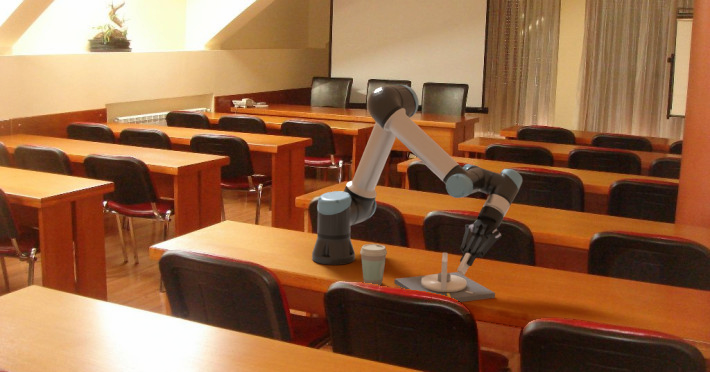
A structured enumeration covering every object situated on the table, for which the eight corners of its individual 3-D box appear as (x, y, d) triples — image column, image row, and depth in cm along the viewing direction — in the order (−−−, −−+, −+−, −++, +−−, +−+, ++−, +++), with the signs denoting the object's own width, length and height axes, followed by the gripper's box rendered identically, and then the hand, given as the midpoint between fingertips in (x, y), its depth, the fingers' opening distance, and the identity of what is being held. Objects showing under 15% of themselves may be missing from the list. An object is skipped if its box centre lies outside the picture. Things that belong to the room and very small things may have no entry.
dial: (422, 277, 255) (423, 245, 253) (466, 279, 253) (467, 248, 251) (419, 293, 238) (421, 260, 236) (466, 296, 236) (468, 262, 234)
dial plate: (394, 283, 253) (394, 278, 253) (457, 276, 262) (457, 271, 262) (428, 306, 232) (428, 300, 232) (494, 297, 241) (495, 292, 241)
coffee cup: (383, 288, 248) (384, 251, 246) (357, 286, 250) (357, 249, 248) (388, 280, 256) (389, 244, 254) (362, 278, 258) (363, 242, 256)
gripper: (515, 222, 250) (482, 283, 242) (480, 215, 259) (448, 274, 250) (506, 208, 246) (473, 270, 237) (472, 201, 254) (438, 261, 246)
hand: (460, 272), depth 244 cm, fingers closed
